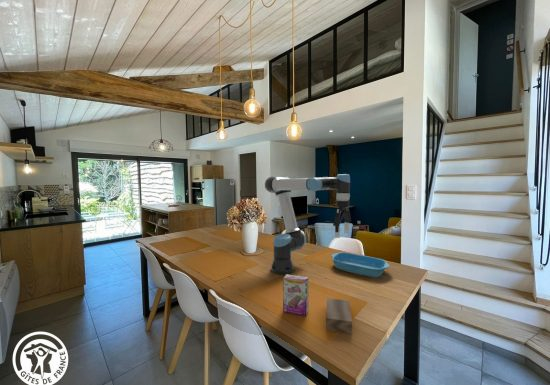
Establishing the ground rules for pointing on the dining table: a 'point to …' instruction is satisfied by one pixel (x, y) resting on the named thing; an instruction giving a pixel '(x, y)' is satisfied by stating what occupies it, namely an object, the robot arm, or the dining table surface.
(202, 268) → the dining table surface
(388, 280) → the dining table surface
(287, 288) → the candy bar box
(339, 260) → the casserole dish
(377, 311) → the dining table surface
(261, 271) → the dining table surface
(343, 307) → the walnut block
